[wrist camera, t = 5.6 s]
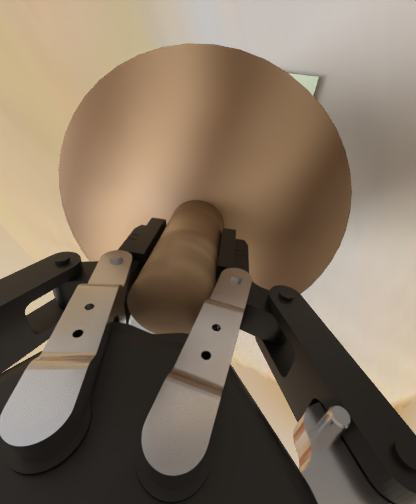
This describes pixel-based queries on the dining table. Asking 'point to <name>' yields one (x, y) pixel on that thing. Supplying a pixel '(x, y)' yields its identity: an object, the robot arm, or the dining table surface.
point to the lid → (204, 175)
